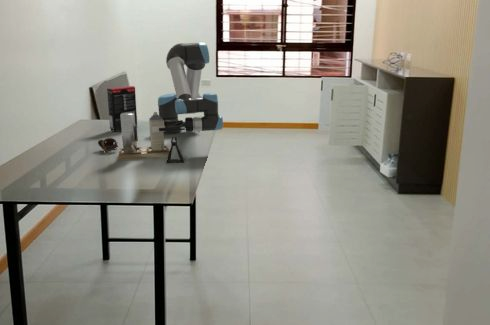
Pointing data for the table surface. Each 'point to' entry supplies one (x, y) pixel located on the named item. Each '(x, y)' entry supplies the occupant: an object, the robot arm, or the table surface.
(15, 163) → the table surface
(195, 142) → the table surface
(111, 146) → the brown curved piece
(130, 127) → the metal canister
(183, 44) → the robot arm
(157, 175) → the table surface
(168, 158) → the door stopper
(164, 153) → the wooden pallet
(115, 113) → the graphics card box
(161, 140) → the aerosol can
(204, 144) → the table surface
